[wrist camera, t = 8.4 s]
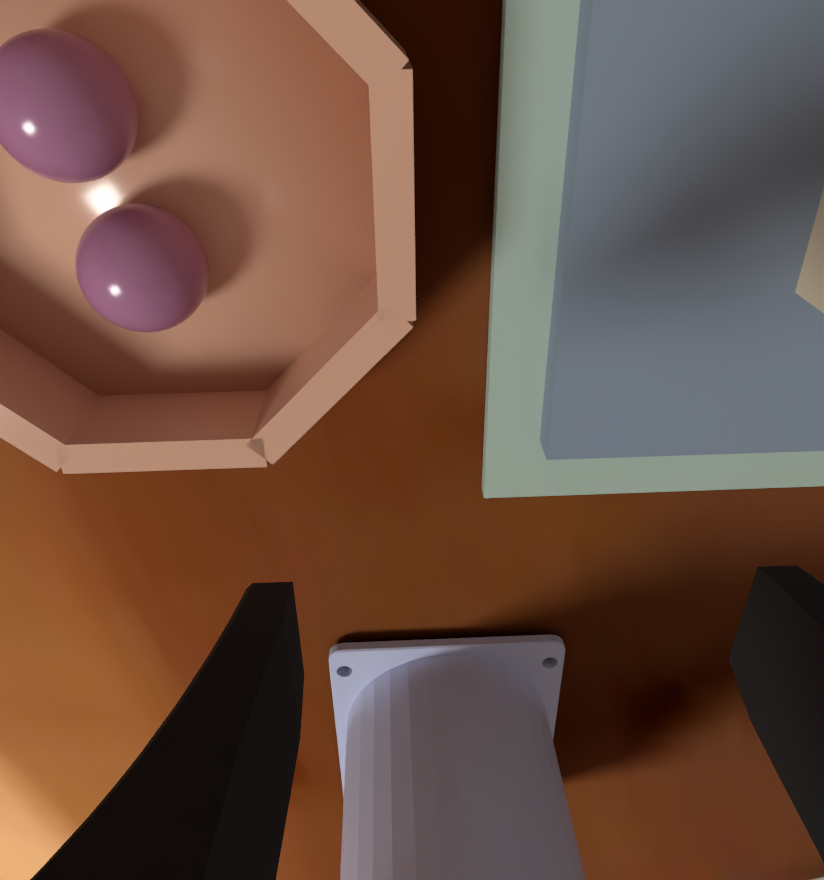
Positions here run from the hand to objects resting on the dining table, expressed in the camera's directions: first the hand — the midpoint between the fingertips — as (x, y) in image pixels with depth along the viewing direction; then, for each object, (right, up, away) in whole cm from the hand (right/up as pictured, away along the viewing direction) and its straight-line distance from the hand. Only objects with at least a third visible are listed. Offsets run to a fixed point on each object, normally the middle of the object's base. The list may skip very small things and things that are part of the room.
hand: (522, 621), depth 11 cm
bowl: (-8, +9, +5) cm, 13 cm away
